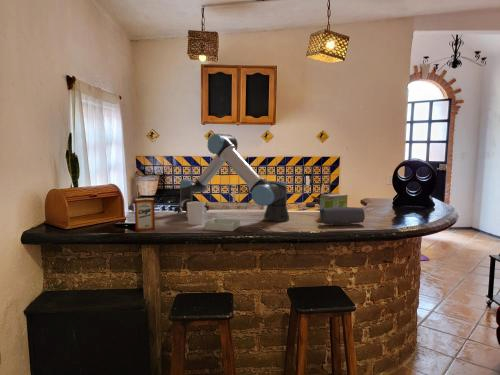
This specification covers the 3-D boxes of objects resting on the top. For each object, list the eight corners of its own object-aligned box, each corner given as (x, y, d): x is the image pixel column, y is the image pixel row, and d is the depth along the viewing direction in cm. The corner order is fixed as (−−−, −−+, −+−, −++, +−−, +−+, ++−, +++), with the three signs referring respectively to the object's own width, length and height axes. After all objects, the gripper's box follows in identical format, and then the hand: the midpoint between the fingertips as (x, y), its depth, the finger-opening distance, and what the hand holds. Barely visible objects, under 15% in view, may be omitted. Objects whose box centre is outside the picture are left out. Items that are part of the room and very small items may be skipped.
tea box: (332, 220, 212) (333, 196, 211) (319, 218, 220) (319, 194, 218) (347, 217, 222) (347, 194, 221) (333, 215, 230) (334, 192, 228)
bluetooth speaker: (357, 222, 207) (357, 205, 206) (364, 226, 198) (365, 208, 197) (319, 223, 203) (319, 206, 202) (325, 227, 194) (326, 209, 193)
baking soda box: (135, 230, 183) (134, 199, 181) (135, 228, 189) (134, 198, 187) (154, 229, 185) (154, 199, 184) (154, 227, 192) (153, 197, 190)
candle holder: (183, 224, 199) (183, 203, 198) (192, 221, 208) (192, 201, 207) (198, 226, 196) (198, 204, 194) (207, 222, 205) (207, 201, 203)
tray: (240, 225, 197) (240, 219, 197) (232, 231, 183) (232, 224, 183) (214, 224, 201) (214, 217, 201) (204, 229, 186) (204, 222, 186)
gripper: (208, 210, 228) (215, 216, 208) (168, 212, 220) (171, 218, 200) (208, 199, 227) (215, 203, 207) (167, 200, 219) (171, 205, 199)
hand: (194, 211), depth 203 cm, fingers open, 13 cm apart
